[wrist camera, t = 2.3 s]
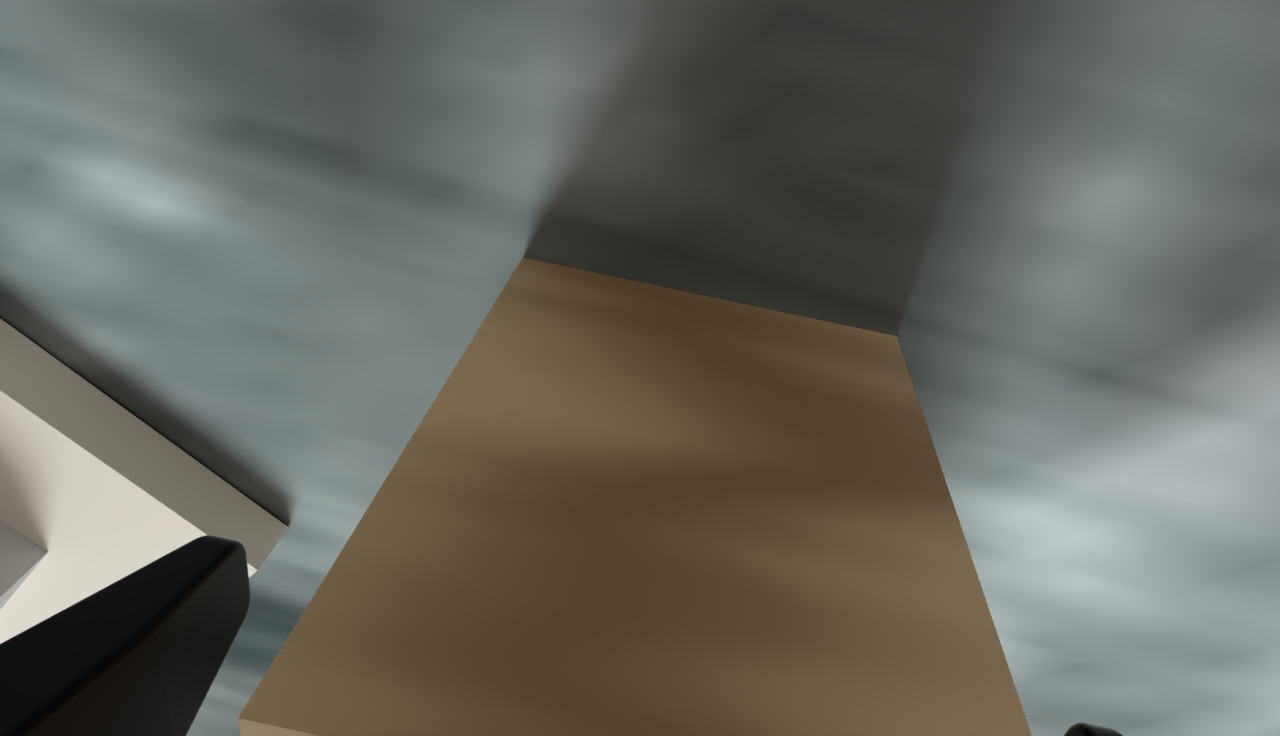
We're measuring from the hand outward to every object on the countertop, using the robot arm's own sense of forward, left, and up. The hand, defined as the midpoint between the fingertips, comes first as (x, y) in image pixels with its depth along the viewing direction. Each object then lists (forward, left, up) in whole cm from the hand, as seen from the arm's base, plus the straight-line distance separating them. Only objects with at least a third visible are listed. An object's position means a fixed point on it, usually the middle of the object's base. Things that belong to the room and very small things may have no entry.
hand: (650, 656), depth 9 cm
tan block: (0, 0, -4) cm, 4 cm away
